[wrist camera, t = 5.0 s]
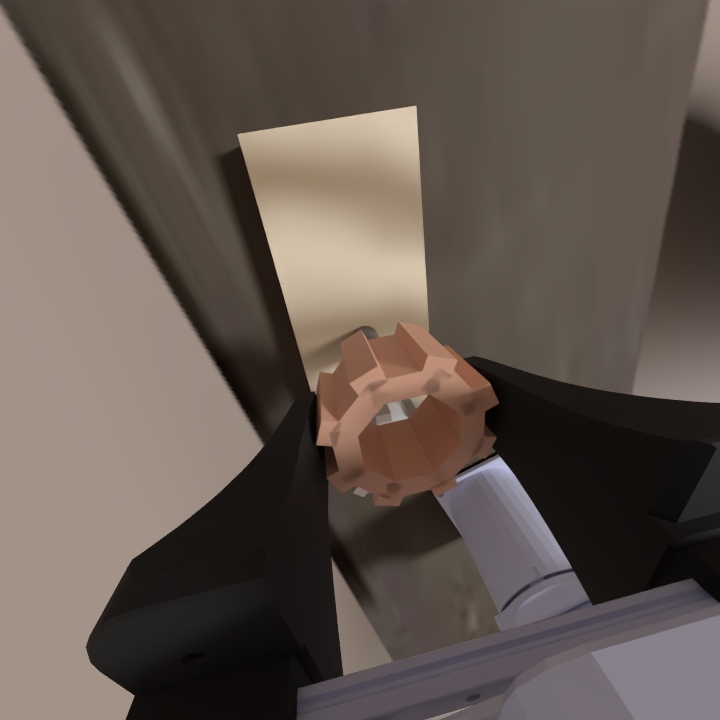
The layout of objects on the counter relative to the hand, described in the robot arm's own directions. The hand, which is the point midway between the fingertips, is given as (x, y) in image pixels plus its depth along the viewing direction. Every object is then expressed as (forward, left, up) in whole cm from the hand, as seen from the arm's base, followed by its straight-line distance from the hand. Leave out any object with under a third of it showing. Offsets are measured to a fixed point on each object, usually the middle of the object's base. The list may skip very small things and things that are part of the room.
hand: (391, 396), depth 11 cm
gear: (0, 0, 0) cm, 0 cm away
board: (0, 0, -8) cm, 8 cm away
